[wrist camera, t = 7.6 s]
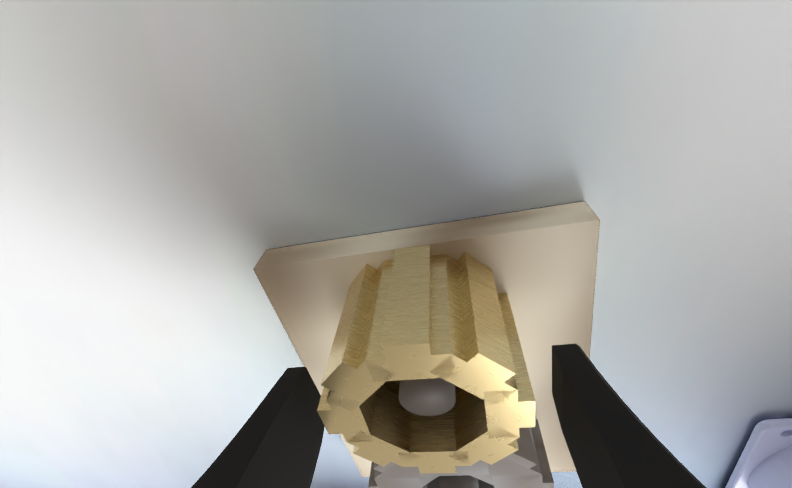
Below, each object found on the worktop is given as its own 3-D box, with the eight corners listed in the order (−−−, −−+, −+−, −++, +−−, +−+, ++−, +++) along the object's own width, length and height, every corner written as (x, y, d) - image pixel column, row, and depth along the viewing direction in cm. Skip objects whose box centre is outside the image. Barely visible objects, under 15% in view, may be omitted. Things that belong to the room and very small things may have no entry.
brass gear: (504, 235, 11) (535, 335, 8) (510, 360, 14) (535, 472, 11) (328, 256, 12) (287, 353, 9) (367, 369, 15) (349, 474, 12)
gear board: (585, 201, 12) (659, 295, 8) (572, 446, 19) (608, 557, 15) (266, 249, 14) (203, 343, 10) (365, 453, 21) (350, 553, 17)
